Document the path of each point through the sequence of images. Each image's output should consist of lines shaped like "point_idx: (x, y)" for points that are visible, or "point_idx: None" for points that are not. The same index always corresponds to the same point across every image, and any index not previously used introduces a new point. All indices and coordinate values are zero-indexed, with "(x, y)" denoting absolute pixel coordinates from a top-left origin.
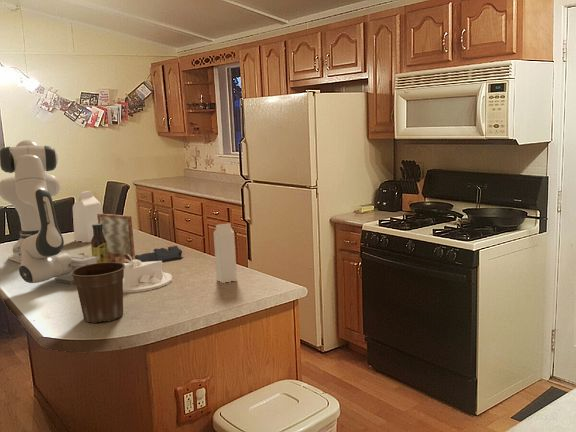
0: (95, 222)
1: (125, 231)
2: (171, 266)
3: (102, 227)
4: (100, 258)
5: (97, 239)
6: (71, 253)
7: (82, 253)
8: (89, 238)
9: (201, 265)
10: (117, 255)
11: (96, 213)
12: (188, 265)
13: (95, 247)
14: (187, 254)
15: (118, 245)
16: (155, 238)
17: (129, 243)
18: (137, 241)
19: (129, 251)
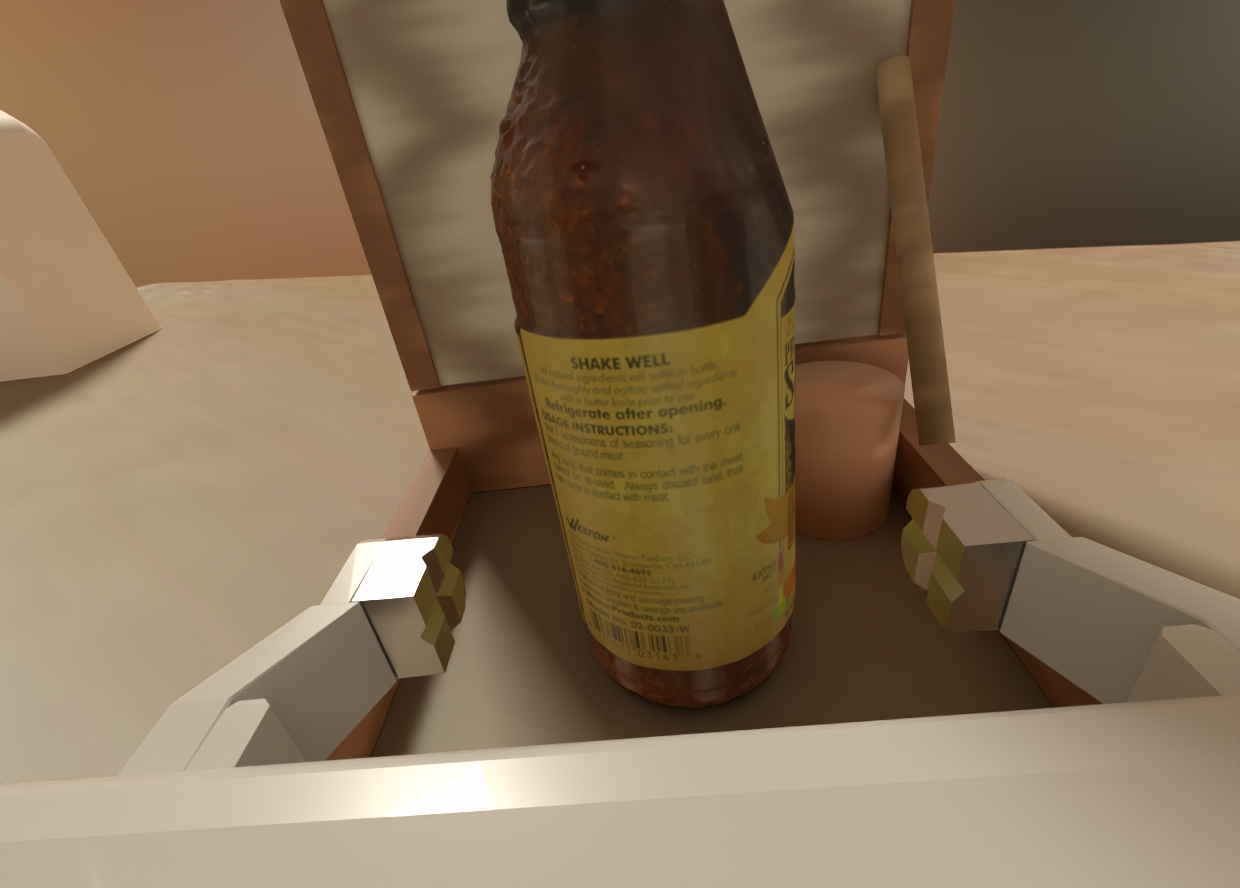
0: (53, 246)
1: (836, 23)
2: (1096, 343)
3: (378, 63)
4: (784, 500)
5: (719, 113)
6: (155, 802)
7: (432, 550)
8: (60, 346)
9: (1207, 285)
10: None
11: (32, 189)
12: (1147, 306)
13: (716, 319)
14: None
15: None
16: None
17: (881, 193)
18: (368, 301)
19: (858, 295)
